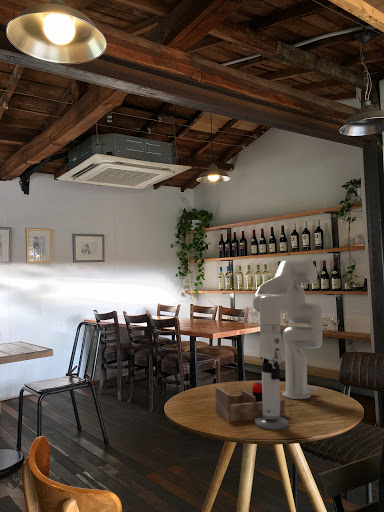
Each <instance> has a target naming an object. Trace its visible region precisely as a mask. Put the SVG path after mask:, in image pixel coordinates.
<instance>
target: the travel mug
mask: <svg viewBox="0 0 384 512" xmlns="http://www.w3.org/2000/svg"><path fill="white" fill-rule="evenodd" d="M275 363H276V362H274V364H275ZM271 368H272V364H271V362H269V363H268V364H262V363H261V381H262V397H263V417H264V418H266V419H271V420H274V419H279V418H280V417H281V416H280V398H281V397H280V394H281V393H280V379H275V380H272V379H271Z"/></svg>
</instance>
